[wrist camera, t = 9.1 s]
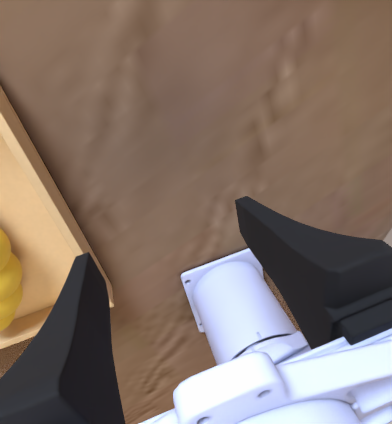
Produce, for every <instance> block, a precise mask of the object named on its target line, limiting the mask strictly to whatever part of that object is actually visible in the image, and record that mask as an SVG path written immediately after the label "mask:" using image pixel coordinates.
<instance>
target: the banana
mask: <svg viewBox="0 0 392 424" xmlns="http://www.w3.org/2000/svg"><path fill="white" fill-rule="evenodd" d="M21 279H22V266H21V264H20V261H19V260H18V258H17V257H16V256H15V255H14V254H13V253H12V252H11V245H10V241H9V239H8V237H7V235H6V234H5V232H4V231H3V230H2V229H1V228H0V331H2V330H4V329H5V328H6V327H8V326H9V325H10V324H11V322H12V321H13V319H14V317H15V312H16V309H17V308H18V306H19V305H20V303H21V300H22V297H23V289H22V285H21V283H20V282H21Z"/></svg>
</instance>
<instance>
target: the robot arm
mask: <svg viewBox="0 0 392 424" xmlns="http://www.w3.org/2000/svg"><path fill="white" fill-rule="evenodd" d="M235 203H236V209H237V216H238V222H239V228H240V233H241V234H242V236H243V238H244V240H245V242H246V244H247V246H248V247H249V248H248V249H245V250H243V251H240V252H237V253H235V254H232V255H229V256H227V257H224V258H221V259H219V260H216V261H213V262H211V263H208V264H205V265H203V266H200V267H197V268H195V269H192V270H189V271H187V272H184V273H182V274H181V280H182V283H183V286H184V289H185V292H186V294H187V297H188V300H189V303H190V306H191V309H192V312H193V315H194V317H195V320H196V323H197V326H198V329H199V331H200V332H205V334H206V337H207V339H208V342H209V345H210V348H211V350H212V353H213V356H214V358H215V361H216V364H217V366H215V367H212V368H210V369H208V370H205V371H203V372H200V373H198V374H196V375H193V376H191V377H189V378H188V379H186V380H184V381H183V382H181V383H180V384H179V386H178V387H177V388H176V389H175V390H174V392H173V401H174V406H175V408H174V409H172V410H169V411H167V412H165V413H162V414H160V415H158V416H155V417H153V418H151V419H148V420H146V421H144V422H141V423H139V424H388V423H390V422H392V247H391V246H389V245H388V244H386V243H385V242H384V241H382V240H375V239H366V238H357V237H351V236H346V235H341V234H336V233H332V232H328V231H324V230H320V229H317V228H314V227H311V226H308V225H305V224H302V223H299V222H297V221H294V220H292V219H290V218H287V217H285V216H283V215H281V214H279V213H277V212H275V211H273V210H271V209H269V208H267V207H266V206H264V205H262V204H260V203H258V202H257V201H255V200H253V199H251V198H249V197H248V196H245V197H243V198H240V199H237V200H235ZM263 268H264V269H265V271H266V272H267V273H268V275H269V276H270V278H271V279H272V280H273V282H274V283H275V285H276V286H277V288H278V289H279V291H280V293H281V295H282V296H283V298H284V300H285V302H286V303H287V305H288V307H289V309H290V310H291V312H292V314H293V316H294V318H295V319H296V321H297V323H298V325H299V327H300V329H301V331H302V333H303V334H304V336H305V338H306V339H305V338H304V336H303V335H302V333H301V332H300V331H298V332H297V330H296V328H295V327H294V325H293V324H292V322H291V321H290V319H289V318H288V316H287V315H286V313H285V311H284V310H283V308H282V307H281V305H280V304H279V302H278V301H277V299H276V298H275V296H274V294H273V293H272V291H271V290H270V288H269V287H268V285H267V284H266V282H265V281H264V276H263ZM187 280H188V281H187ZM306 340H307V341H306ZM0 424H125V419H124V415H123V410H122V405H121V400H120V395H119V389H118V383H117V378H116V372H115V366H114V360H113V354H112V344H111V323H110V304H109V296H108V291H107V286H106V281H105V279H104V277H103V276H102V274H101V272H100V270H99V269H98V267H97V265H96V263H95V262H94V260H93V258H92V256H91V254H90V253H89V252H87V253H84V254H82V255H79V256H76V257H75V259H74V262H73V264H72V267H71V269H70V272H69V274H68V276H67V279H66V281H65V283H64V286H63V288H62V290H61V292H60V294H59V296H58V298H57V300H56V302H55V304H54V306H53V308H52V310H51V312H50V314H49V315H48V317H47V319H46V321H45V322H44V324H43V325H42V327H41V329H40V330H39V332H38V333H37V334H36V336H35V337H34V339H33V340H32V341H31V343H30V344H29V345H28V347H27V348H26V349H25V351H24V352H23V353H22V355H21V356H20V357H19V358H18V359H17V361H16V362H15V363H14V364H13V365H12V366H11V368H10V369H9V370H8V371H7V372H6V373H5V374H4V375H3V377H2V378H1V379H0Z"/></svg>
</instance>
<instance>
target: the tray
mask: <svg viewBox="0 0 392 424" xmlns="http://www.w3.org/2000/svg"><path fill="white" fill-rule="evenodd" d="M0 228H1V229H2V230H3V231H4V232H5V234H6V235H7V237H8V239H9V241H10V245H11V252H12V253H13V254H14V255H15V256H16V257H17V258H18V260H19V261H20V264H21V266H22V279H21V282H20V283H21V285H22V289H23V297H22V300H21V303H20V305H19V306H18V308H17V309H16V312H15V317H14V319H13V321H12V322H11V324H10V325H9V326H8V327H6V328H5V329H4V330H2V331H0V349H2V348H5V347H7V346H10V345H13V344H15V343H18V342H21V341H23V340H26V339H29V338H31V337H34V336H36V334H37V333H38V332H39V330H40V329H41V327H42V325H43V324H44V322H45V321H46V319H47V317H48V315H49V314H50V312H51V310H52V308H53V306H54V304H55V302H56V300H57V298H58V296H59V294H60V292H61V290H62V288H63V286H64V283H65V281H66V279H67V276H68V274H69V272H70V269H71V267H72V264H73V262H74V259H75V257H76V256H79V255H82V254H84V253H87V252H89V253H90V254H91V256H92V258H93V260H94V262H95V263H96V265H97V267H98V269H99V270H100V272H101V274H102V276H103V277H104V279H105V281H106V286H107V291H108V296H109V304H110V308H111V307H113V306H114V301H113V292H112V285H111V283H110V281H109V280H108V278H107V276H106V274H105V272H104V271H103V269H102V267H101V265H100V263H99V262H98V260H97V258H96V256H95V254H94V253H93V251H92V249H91V247H90V245H89V244H88V242H87V240H86V238H85V236H84V235H83V233H82V231H81V229H80V227H79V226H78V224H77V222H76V220H75V219H74V217H73V215H72V213H71V211H70V210H69V208H68V206H67V204H66V202H65V201H64V199H63V197H62V195H61V193H60V192H59V190H58V188H57V186H56V184H55V183H54V181H53V179H52V177H51V175H50V174H49V172H48V170H47V168H46V166H45V165H44V163H43V161H42V159H41V157H40V156H39V154H38V152H37V150H36V148H35V147H34V145H33V143H32V141H31V139H30V138H29V136H28V134H27V132H26V131H25V129H24V127H23V125H22V123H21V122H20V120H19V118H18V116H17V114H16V113H15V111H14V109H13V107H12V105H11V104H10V102H9V100H8V98H7V96H6V95H5V93H4V91H3V89H2V87H1V86H0Z"/></svg>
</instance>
